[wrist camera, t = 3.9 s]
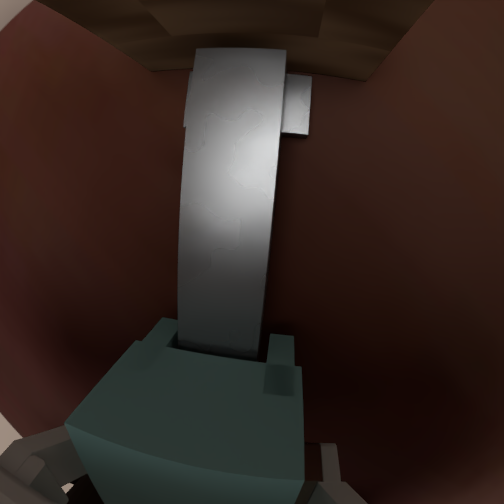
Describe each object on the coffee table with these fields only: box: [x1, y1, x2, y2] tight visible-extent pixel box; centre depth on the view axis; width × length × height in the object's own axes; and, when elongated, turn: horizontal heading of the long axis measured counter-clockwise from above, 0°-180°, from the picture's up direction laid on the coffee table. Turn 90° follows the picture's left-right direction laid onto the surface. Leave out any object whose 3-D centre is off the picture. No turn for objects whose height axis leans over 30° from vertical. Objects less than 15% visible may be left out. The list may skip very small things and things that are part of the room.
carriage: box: [64, 317, 305, 504], centre depth 8 cm, size 5×6×6 cm
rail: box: [178, 48, 312, 362], centre depth 9 cm, size 4×17×6 cm, turn 175°
